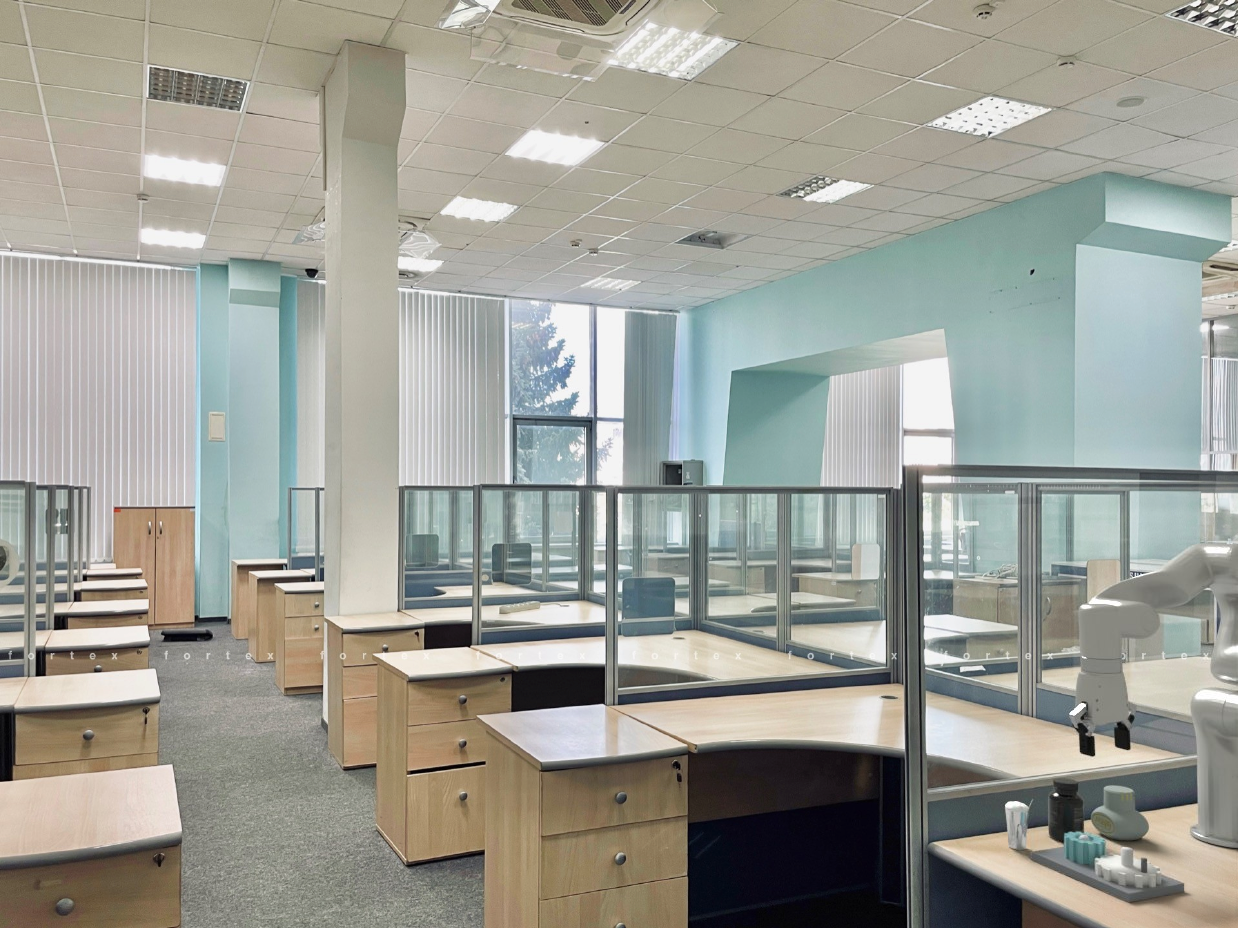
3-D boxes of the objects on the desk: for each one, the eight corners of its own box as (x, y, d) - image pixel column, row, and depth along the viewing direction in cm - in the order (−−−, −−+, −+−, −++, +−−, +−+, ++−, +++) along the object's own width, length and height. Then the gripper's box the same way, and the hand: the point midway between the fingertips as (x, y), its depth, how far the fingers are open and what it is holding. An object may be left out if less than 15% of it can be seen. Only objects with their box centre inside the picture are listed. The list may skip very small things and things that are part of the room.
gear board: (1083, 850, 191) (1083, 818, 192) (1184, 891, 171) (1183, 854, 171) (1031, 859, 186) (1030, 825, 186) (1128, 902, 166) (1128, 864, 166)
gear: (1083, 850, 187) (1082, 829, 188) (1114, 862, 181) (1114, 841, 181) (1056, 854, 185) (1055, 833, 185) (1086, 867, 178) (1086, 845, 178)
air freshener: (1084, 829, 205) (1084, 782, 205) (1117, 826, 207) (1116, 780, 207) (1122, 846, 194) (1121, 797, 195) (1156, 843, 196) (1155, 795, 197)
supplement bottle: (1078, 834, 201) (1078, 777, 202) (1088, 844, 195) (1087, 786, 195) (1044, 831, 203) (1044, 775, 203) (1053, 842, 196) (1052, 783, 197)
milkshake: (1035, 852, 190) (1035, 802, 190) (1007, 850, 191) (1007, 800, 191) (1030, 844, 194) (1030, 795, 195) (1003, 842, 195) (1003, 793, 196)
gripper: (1116, 658, 195) (1119, 742, 194) (1054, 666, 188) (1057, 752, 188) (1148, 664, 188) (1152, 750, 188) (1085, 672, 182) (1089, 762, 181)
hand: (1105, 751), depth 188 cm, fingers open, 9 cm apart
